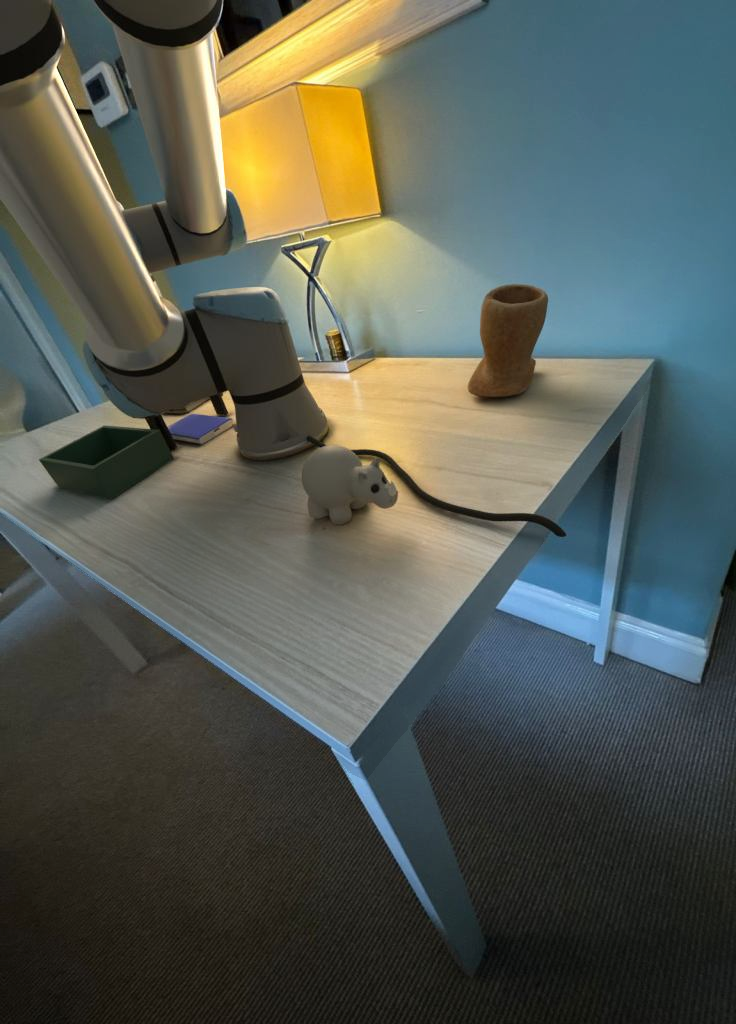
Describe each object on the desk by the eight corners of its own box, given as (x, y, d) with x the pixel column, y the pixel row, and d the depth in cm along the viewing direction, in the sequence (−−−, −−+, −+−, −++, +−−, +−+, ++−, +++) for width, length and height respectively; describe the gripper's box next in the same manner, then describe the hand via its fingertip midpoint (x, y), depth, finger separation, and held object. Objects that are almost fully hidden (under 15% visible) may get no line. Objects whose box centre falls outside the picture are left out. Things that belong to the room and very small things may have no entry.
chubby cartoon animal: (383, 546, 46) (368, 478, 41) (301, 522, 53) (280, 461, 48) (417, 508, 50) (407, 442, 46) (338, 489, 57) (321, 430, 52)
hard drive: (159, 430, 85) (198, 437, 78) (192, 412, 90) (231, 417, 83) (163, 438, 86) (201, 445, 79) (196, 419, 91) (234, 424, 84)
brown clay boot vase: (539, 403, 66) (542, 295, 57) (461, 403, 71) (453, 305, 63) (552, 366, 76) (556, 270, 68) (483, 369, 82) (479, 280, 73)
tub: (174, 458, 77) (159, 429, 73) (112, 499, 68) (92, 468, 65) (119, 451, 85) (104, 425, 82) (58, 487, 77) (38, 459, 73)
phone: (228, 381, 105) (183, 408, 95) (230, 386, 105) (185, 413, 95) (204, 382, 108) (158, 408, 98) (206, 386, 109) (161, 413, 99)
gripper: (186, 296, 83) (228, 401, 95) (63, 341, 67) (133, 461, 79) (213, 292, 79) (253, 402, 92) (90, 339, 63) (159, 465, 75)
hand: (198, 430), depth 85 cm, fingers open, 13 cm apart
